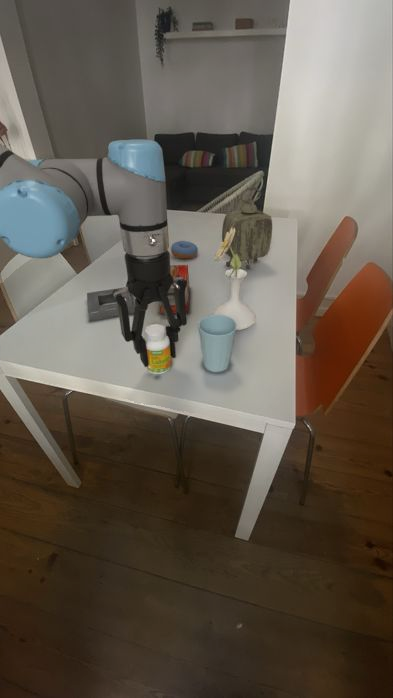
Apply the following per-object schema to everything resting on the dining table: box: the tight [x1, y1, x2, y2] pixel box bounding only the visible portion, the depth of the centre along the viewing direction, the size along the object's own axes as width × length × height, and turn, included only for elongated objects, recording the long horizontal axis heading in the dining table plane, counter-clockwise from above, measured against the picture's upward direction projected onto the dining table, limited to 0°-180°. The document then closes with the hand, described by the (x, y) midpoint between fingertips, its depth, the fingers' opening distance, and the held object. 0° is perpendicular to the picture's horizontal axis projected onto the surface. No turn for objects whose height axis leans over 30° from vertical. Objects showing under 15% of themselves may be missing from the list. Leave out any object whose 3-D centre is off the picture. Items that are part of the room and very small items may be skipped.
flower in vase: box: [211, 227, 256, 332], centre depth 74 cm, size 13×11×25 cm
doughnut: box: [170, 240, 199, 260], centre depth 118 cm, size 10×10×5 cm
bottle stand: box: [86, 286, 135, 322], centre depth 89 cm, size 12×12×2 cm
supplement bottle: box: [143, 323, 172, 375], centre depth 65 cm, size 5×5×10 cm
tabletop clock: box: [221, 186, 273, 270], centre depth 103 cm, size 14×9×25 cm, turn 111°
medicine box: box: [158, 264, 190, 314], centre depth 90 cm, size 15×8×8 cm, turn 1°
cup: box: [197, 314, 237, 373], centre depth 67 cm, size 8×8×10 cm
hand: (158, 358), depth 67 cm, fingers closed on supplement bottle, 5 cm apart
